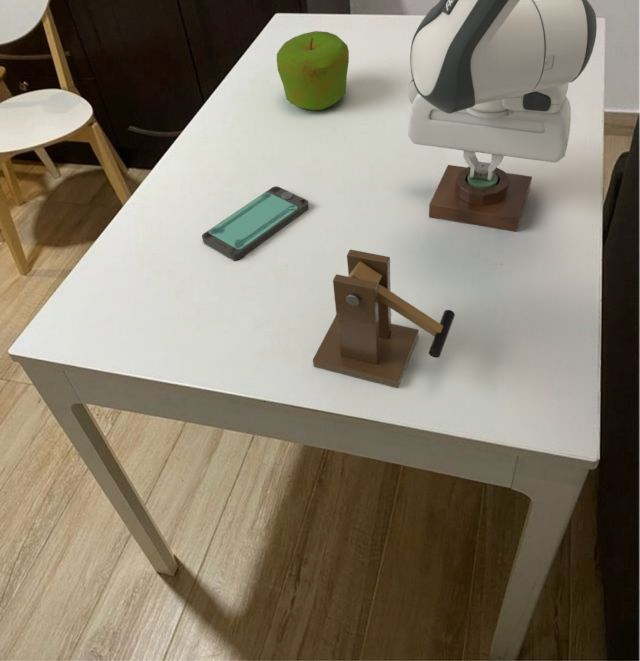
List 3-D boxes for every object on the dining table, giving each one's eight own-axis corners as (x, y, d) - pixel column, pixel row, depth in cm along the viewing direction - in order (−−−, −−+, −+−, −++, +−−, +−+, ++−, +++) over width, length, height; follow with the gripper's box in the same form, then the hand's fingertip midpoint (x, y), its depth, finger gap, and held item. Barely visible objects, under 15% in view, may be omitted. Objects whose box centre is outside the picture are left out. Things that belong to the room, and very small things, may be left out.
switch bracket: (418, 336, 76) (420, 252, 67) (397, 388, 72) (397, 305, 62) (338, 318, 80) (330, 235, 70) (313, 366, 75) (300, 284, 65)
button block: (529, 189, 94) (534, 165, 91) (516, 231, 88) (520, 207, 85) (447, 177, 97) (448, 153, 95) (428, 217, 91) (429, 193, 88)
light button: (499, 182, 91) (500, 171, 90) (492, 198, 89) (494, 187, 88) (470, 178, 93) (471, 167, 91) (463, 194, 90) (464, 183, 89)
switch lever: (447, 322, 71) (460, 311, 69) (432, 362, 68) (445, 351, 66) (356, 261, 70) (366, 249, 68) (335, 299, 67) (345, 287, 65)
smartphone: (310, 200, 95) (233, 254, 88) (310, 207, 95) (235, 261, 88) (274, 183, 98) (198, 234, 91) (275, 190, 99) (200, 241, 92)
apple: (297, 82, 122) (289, 20, 114) (360, 86, 119) (356, 23, 111) (272, 116, 115) (262, 52, 106) (339, 122, 111) (334, 56, 103)
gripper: (401, 83, 81) (401, 178, 91) (575, 101, 74) (554, 202, 84) (416, 60, 85) (414, 154, 95) (582, 75, 78) (561, 174, 88)
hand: (481, 177), depth 89 cm, fingers closed, pressing on light button
